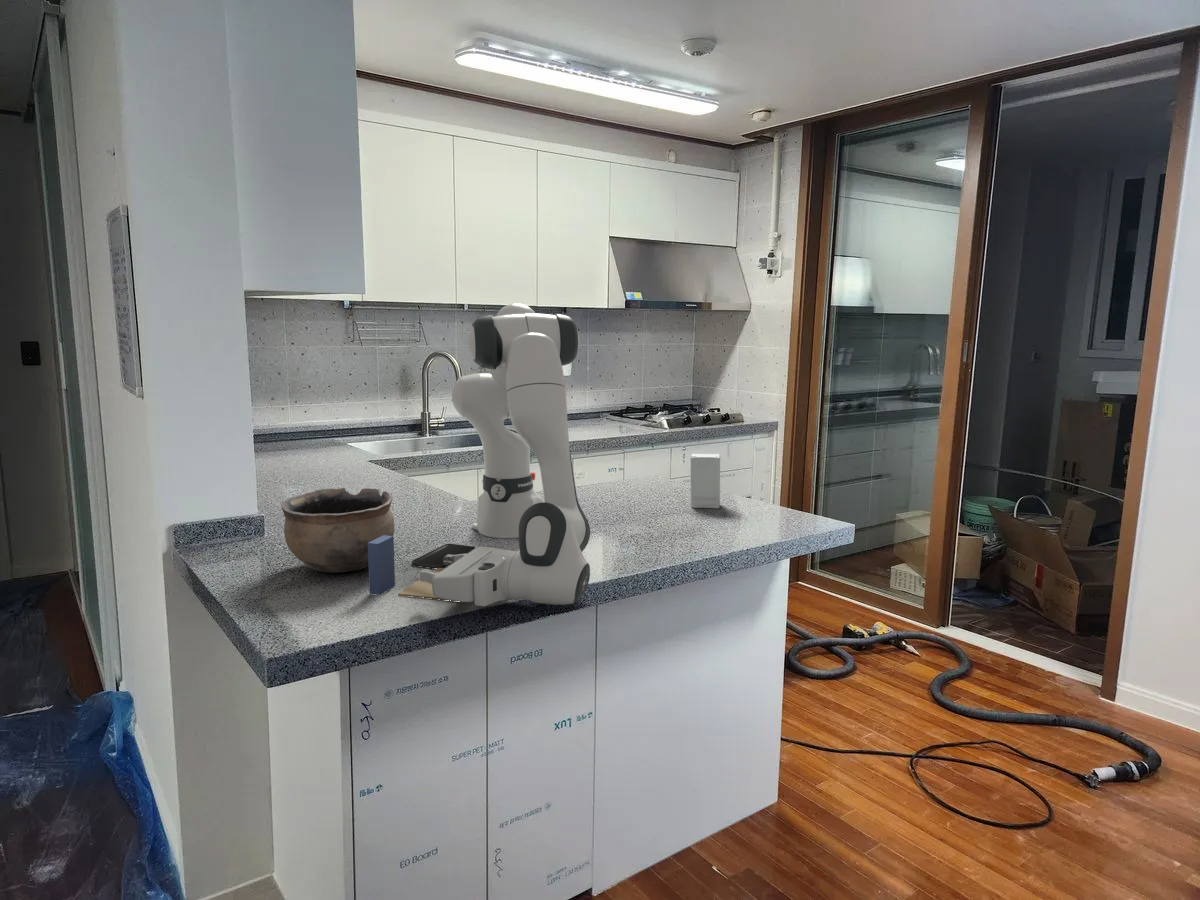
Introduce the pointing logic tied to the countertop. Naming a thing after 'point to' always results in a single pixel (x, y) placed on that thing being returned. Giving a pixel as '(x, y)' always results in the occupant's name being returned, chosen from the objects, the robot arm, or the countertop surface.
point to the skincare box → (705, 480)
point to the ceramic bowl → (336, 527)
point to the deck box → (381, 564)
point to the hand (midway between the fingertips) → (433, 567)
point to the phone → (441, 555)
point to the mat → (421, 589)
